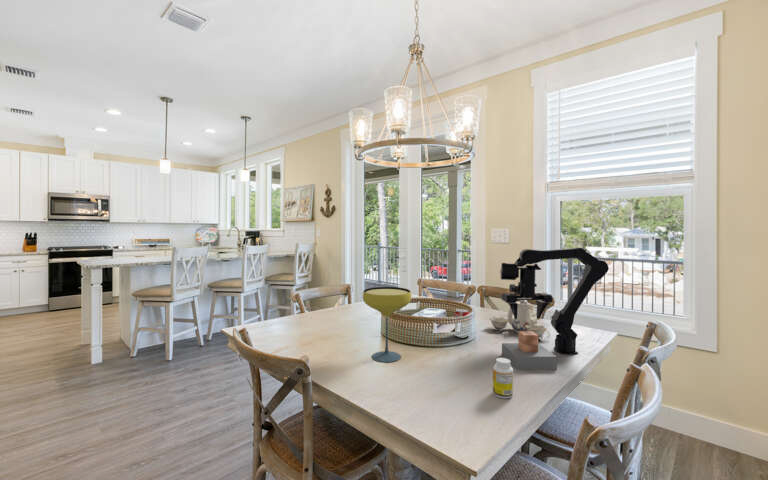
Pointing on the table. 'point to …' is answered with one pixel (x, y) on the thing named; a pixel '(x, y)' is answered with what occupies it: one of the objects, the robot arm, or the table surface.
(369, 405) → the table surface
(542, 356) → the gray block
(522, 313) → the chinaware
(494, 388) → the supplement bottle
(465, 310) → the soda can
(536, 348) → the terracotta cube
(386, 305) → the cocktail glass
